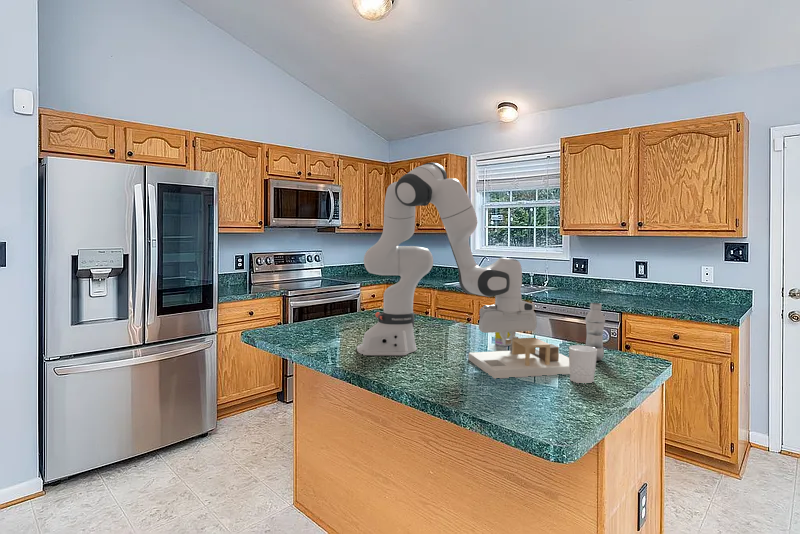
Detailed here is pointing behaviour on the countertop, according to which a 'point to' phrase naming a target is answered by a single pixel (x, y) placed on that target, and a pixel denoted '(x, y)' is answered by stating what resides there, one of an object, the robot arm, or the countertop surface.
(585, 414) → the countertop surface
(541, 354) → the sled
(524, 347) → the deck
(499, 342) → the supplement bottle
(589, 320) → the plastic bottle
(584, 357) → the white cup
